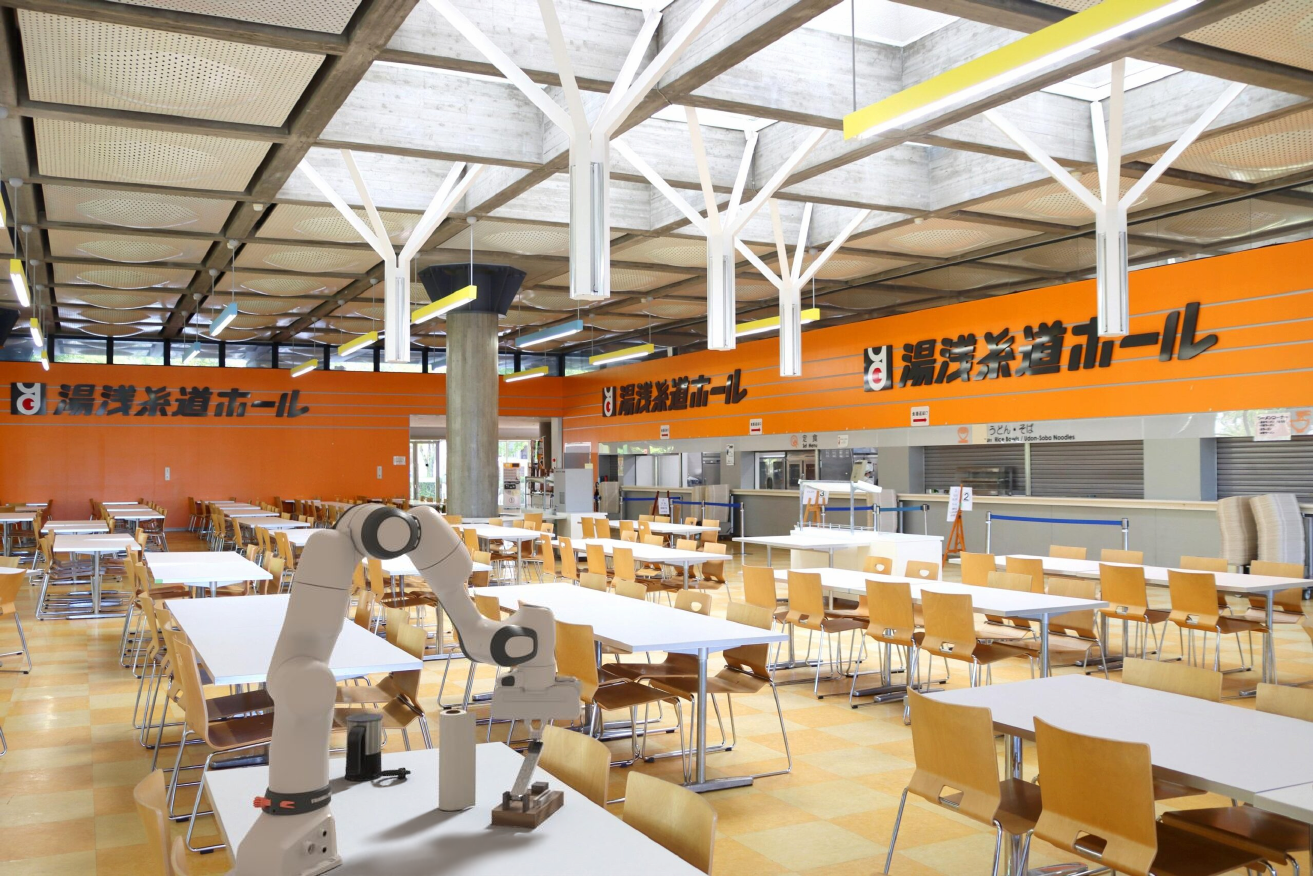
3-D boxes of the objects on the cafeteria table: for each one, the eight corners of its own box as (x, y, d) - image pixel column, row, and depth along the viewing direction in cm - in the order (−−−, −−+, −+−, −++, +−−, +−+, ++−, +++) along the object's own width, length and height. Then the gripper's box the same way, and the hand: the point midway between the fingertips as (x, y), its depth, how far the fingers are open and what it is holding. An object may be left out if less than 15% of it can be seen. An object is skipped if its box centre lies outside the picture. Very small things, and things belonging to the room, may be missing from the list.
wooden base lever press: (535, 828, 214) (535, 797, 215) (491, 824, 217) (491, 793, 217) (563, 804, 231) (563, 775, 231) (522, 801, 233) (523, 772, 234)
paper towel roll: (432, 809, 228) (433, 712, 229) (450, 802, 233) (451, 707, 234) (458, 814, 224) (459, 715, 225) (475, 806, 230) (476, 710, 231)
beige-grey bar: (522, 802, 217) (520, 797, 216) (509, 801, 218) (507, 796, 217) (544, 746, 230) (543, 741, 229) (532, 745, 230) (530, 740, 230)
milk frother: (344, 773, 258) (345, 714, 258) (408, 768, 262) (409, 710, 263) (344, 788, 244) (345, 726, 245) (411, 783, 249) (412, 721, 249)
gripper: (583, 674, 232) (583, 735, 232) (494, 674, 233) (493, 735, 232) (581, 679, 226) (581, 742, 225) (489, 679, 226) (489, 742, 226)
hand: (536, 739), depth 229 cm, fingers closed
